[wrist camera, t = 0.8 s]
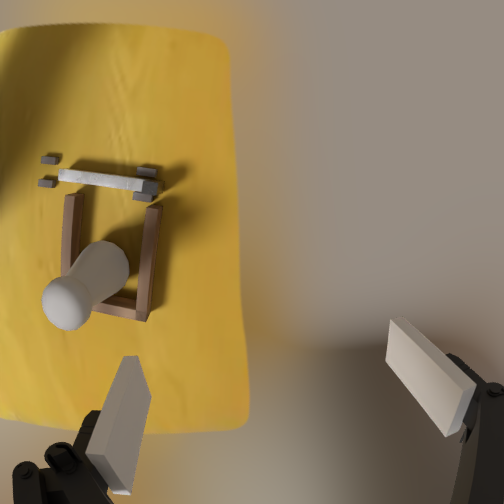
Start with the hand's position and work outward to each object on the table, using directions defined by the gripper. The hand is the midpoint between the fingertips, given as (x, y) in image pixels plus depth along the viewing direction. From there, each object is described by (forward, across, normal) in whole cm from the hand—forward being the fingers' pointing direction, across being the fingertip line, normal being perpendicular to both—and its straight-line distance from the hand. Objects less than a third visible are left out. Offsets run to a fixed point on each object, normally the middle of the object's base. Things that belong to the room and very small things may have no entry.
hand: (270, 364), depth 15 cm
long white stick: (+20, -12, +10) cm, 25 cm away
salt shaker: (+20, -15, +1) cm, 25 cm away
